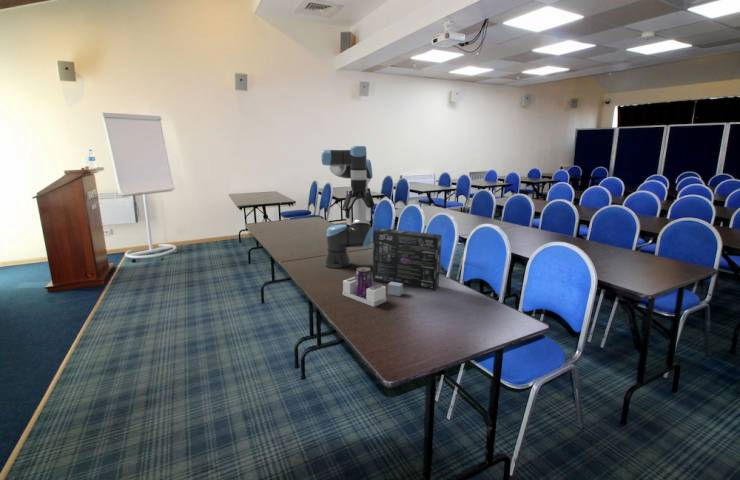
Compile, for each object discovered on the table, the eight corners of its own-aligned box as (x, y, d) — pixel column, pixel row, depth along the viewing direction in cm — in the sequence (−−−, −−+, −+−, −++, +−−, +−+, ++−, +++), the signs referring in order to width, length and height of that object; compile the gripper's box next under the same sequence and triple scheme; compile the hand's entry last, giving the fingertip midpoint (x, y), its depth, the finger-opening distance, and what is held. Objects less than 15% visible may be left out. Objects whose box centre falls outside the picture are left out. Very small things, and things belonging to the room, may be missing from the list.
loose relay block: (391, 291, 176) (391, 281, 175) (402, 293, 173) (402, 283, 172) (387, 294, 173) (387, 284, 171) (399, 296, 170) (399, 286, 169)
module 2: (378, 294, 166) (378, 283, 165) (385, 297, 163) (385, 285, 162) (366, 299, 161) (366, 287, 160) (373, 302, 158) (374, 290, 157)
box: (439, 286, 183) (441, 233, 176) (435, 291, 176) (437, 236, 170) (377, 276, 196) (378, 227, 190) (372, 281, 190) (372, 230, 184)
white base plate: (354, 290, 177) (354, 286, 177) (386, 301, 164) (386, 297, 163) (342, 294, 171) (342, 290, 171) (374, 306, 158) (374, 302, 158)
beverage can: (368, 297, 163) (368, 272, 160) (353, 295, 165) (353, 270, 162) (373, 292, 169) (373, 267, 166) (359, 290, 172) (359, 265, 169)
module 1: (354, 286, 176) (354, 275, 175) (361, 288, 173) (361, 277, 172) (343, 290, 171) (342, 279, 170) (349, 293, 168) (349, 281, 167)
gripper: (370, 177, 187) (370, 217, 192) (333, 180, 169) (334, 225, 175) (381, 177, 182) (381, 219, 187) (344, 181, 164) (345, 227, 170)
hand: (358, 222), depth 181 cm, fingers open, 13 cm apart
